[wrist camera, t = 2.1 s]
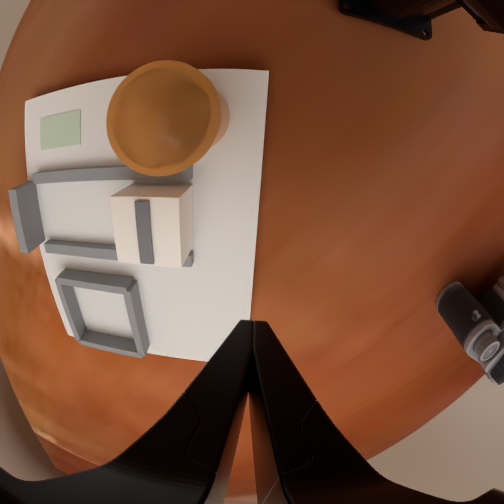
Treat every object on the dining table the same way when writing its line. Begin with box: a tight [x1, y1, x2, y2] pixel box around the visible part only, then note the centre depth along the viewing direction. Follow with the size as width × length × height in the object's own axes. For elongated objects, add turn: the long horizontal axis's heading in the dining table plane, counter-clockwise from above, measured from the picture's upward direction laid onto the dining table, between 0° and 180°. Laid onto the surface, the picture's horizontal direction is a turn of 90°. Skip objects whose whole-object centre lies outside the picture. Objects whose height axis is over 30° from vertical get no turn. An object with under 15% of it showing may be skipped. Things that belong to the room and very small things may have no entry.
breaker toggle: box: [110, 183, 193, 268], centre depth 16 cm, size 4×4×3 cm
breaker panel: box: [8, 69, 269, 362], centre depth 17 cm, size 18×22×4 cm
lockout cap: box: [106, 60, 230, 176], centre depth 12 cm, size 5×5×6 cm
